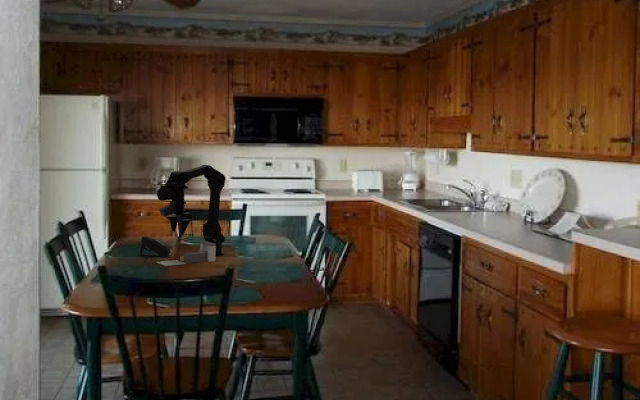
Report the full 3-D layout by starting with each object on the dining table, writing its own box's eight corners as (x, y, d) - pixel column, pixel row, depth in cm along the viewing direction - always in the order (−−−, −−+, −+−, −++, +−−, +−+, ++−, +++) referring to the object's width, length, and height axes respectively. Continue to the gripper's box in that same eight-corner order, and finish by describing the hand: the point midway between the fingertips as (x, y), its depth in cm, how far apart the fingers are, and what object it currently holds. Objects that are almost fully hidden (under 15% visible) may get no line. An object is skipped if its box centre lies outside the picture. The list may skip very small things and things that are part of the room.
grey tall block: (208, 259, 329) (208, 251, 328) (212, 260, 326) (212, 252, 325) (179, 262, 319) (179, 253, 319) (183, 263, 316) (183, 255, 316)
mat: (176, 260, 321) (176, 260, 321) (186, 264, 314) (186, 263, 314) (156, 262, 315) (156, 261, 315) (165, 266, 308) (165, 265, 308)
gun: (162, 269, 330) (172, 251, 328) (134, 251, 332) (143, 233, 330) (165, 268, 332) (174, 250, 331) (137, 250, 335) (146, 232, 333)
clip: (205, 258, 331) (206, 241, 330) (215, 261, 324) (215, 243, 323) (200, 258, 329) (200, 241, 328) (209, 261, 322) (209, 244, 321)
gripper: (153, 198, 322) (153, 231, 324) (170, 202, 307) (170, 237, 309) (175, 197, 329) (175, 230, 330) (193, 200, 314) (193, 235, 315)
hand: (178, 233), depth 321 cm, fingers open, 9 cm apart
